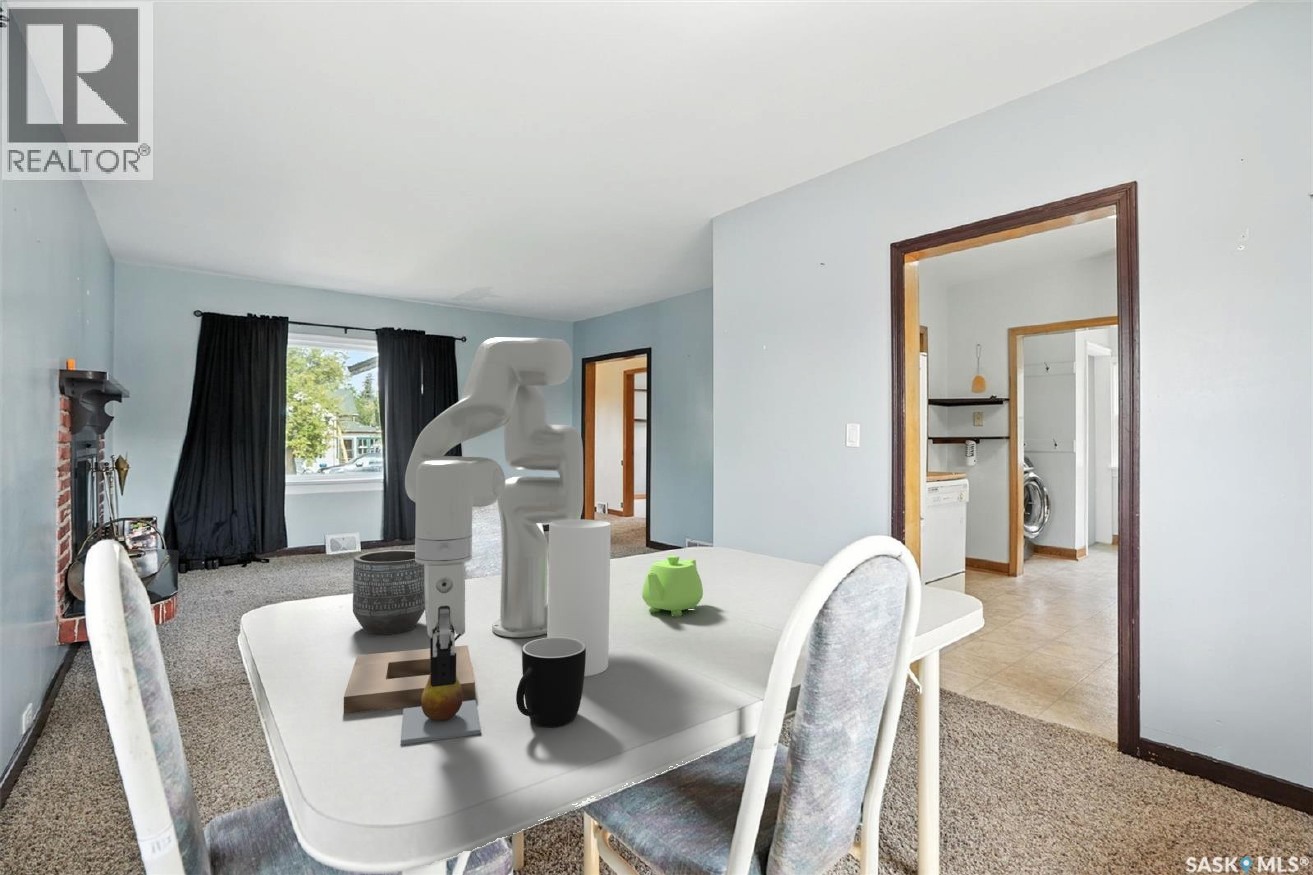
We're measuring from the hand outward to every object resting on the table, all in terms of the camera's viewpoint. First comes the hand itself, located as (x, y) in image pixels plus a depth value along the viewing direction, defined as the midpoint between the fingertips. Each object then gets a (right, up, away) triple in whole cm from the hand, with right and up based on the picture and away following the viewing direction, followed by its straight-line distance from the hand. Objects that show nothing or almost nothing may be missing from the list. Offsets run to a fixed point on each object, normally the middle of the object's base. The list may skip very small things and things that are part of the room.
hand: (442, 671), depth 88 cm
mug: (+14, -8, +1) cm, 16 cm away
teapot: (+34, -8, +60) cm, 69 cm away
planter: (-25, -7, +43) cm, 50 cm away
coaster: (0, -7, 0) cm, 7 cm away
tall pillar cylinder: (+16, -8, +22) cm, 29 cm away
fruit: (0, -7, 0) cm, 7 cm away
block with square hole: (-9, -7, +13) cm, 18 cm away
